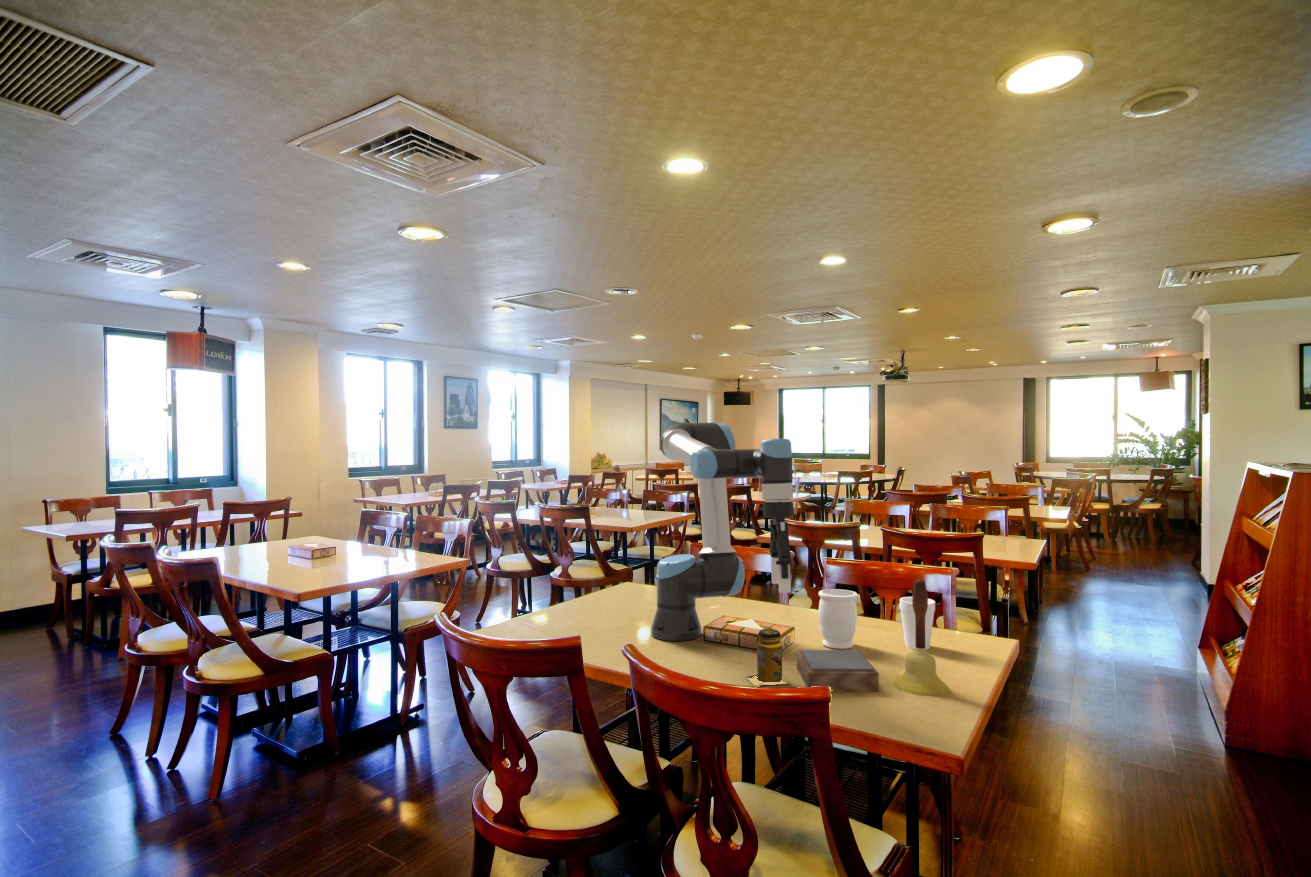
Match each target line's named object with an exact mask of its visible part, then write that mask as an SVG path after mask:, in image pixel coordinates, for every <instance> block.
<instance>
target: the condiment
mask: <svg viewBox="0 0 1311 877" xmlns="http://www.w3.org/2000/svg"><path fill="white" fill-rule="evenodd" d="M757 639H758V641H757V643H756V674H754V675H744V677H745V679H746V678H752V677H753V676H757V677H758V678H757V679H758V680H759V681H762V682H780V681H781V680H782V679H783V644H782V642H781V631H780V630H778V629H774V628H764V629H763V628H762V629H760V630H758V638H757ZM753 678H754V677H753ZM754 687H755V688H758V687H759V686H754Z"/></svg>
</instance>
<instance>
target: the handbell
mask: <svg viewBox="0 0 1311 877" xmlns="http://www.w3.org/2000/svg"><path fill="white" fill-rule="evenodd" d="M911 595H912V596H911V597H912V605H913V609H914V613H915V636H916V647H915V649H913V651H911V652H909V653H908V654H907V655H906V657H905V664H904V665H905V670H904V672H902V673H901V674H900V675H899V676H897V677H896V678H895V679H894V681H893V683H892V684H893V686H894V687H895V688H896V689H897V690H900V691H902V692H904V693H908V694H911V695H916V696H924V697H925V696H926V697H937V696H943V695H946V694H948V693H949V692H950V689H949V686H948V685H947V683H945V681H943V680H942V679H941V678H940V677H939V676H938V674H937V665H936V664H937V663H936V659H935V657H934V656H933V655H932V654H930V653H929V652H928V650H926V648H925V615H926V612H927V608H928V599H929V598H928V597H929V596H928V595H929V594H928V590H927V586H926V581H925V580H923V579H915V580H914V583H913V589H912V594H911Z"/></svg>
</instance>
